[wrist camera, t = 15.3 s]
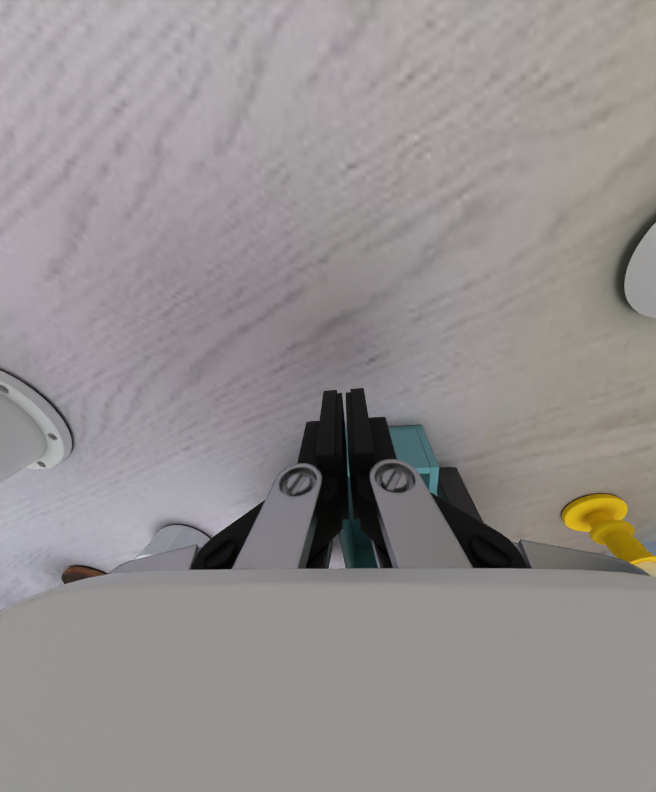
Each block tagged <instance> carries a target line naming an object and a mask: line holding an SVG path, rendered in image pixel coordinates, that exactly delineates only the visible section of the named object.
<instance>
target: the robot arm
mask: <svg viewBox="0 0 656 792" xmlns="http://www.w3.org/2000/svg"><path fill="white" fill-rule="evenodd" d="M346 415H347V443H346V432H345V421H344V411H343V400H342V393H337V390H331V391H324V393H323V400H322V407H321V415H320V421H311V422H307V423H306V427H305V431H304V436H303V440H302V445H301V449H300V454H299V459H298V463H297V464H295V465H291V466H289V467H287V468H285V469H284V470H283V471H282V472H280V473H279V475H278V476H277V478H276V479H275V481H274V483H273V485H272V488H271V490H270V492H269V494H268V496H267V498H266V500H264V501H263V502H262V503H260V504H259V505H257V506H256V507H255V508H253V509H252V510H250V511H249V512H248V513H246V514H245V515H243V516H242V517H241V518H239V519H238V520H236V521H235V522H234V523H232V524H231V525H229V526H228V527H226V528H225V529H224V530H222V531H221V532H219V533H218V534H217V535H215V536H214V537H212V538H211V539H210V540H209V541H208V542H207V543H206V544H204V546H203V547H198V545H197V544H195V545H191V546H187V547H183V548H179V549H175V550H171V551H167V552H163V553H159V554H155V555H151V556H147V557H143V558H139V559H135V560H131V561H128V562H126V563H123V564H121V565H119V566H118V567H116V568H115V569H113V570H112V571H110V572H109V573H108V574H107V575H102V576H96V577H90V578H86V579H82V580H78V581H75V582H71V583H67V584H64V585H60V586H57V587H54V588H52V589H49V590H46V591H44V592H41V593H39V594H36V595H33V596H31V597H28V598H25V599H23V600H21V601H19V602H17V603H14V604H12V605H10V606H8V607H6V608H4V609H2V610H0V792H656V577H654V576H651V575H649V574H648V573H647V572H645V571H644V570H643V569H641V568H639V567H637V566H635V565H633V564H631V563H629V562H627V561H625V560H622V559H618V558H615V557H611V556H607V555H601V554H596V553H591V552H585V551H580V550H575V549H570V548H564V547H559V546H554V545H548V544H543V543H538V542H532V541H527V540H522V539H520V541H519V543H515V542H511V541H510V540H509V539H508V538H506V537H505V536H503V535H502V534H501V533H499V532H498V531H496V530H494V529H492V528H491V527H489V526H487V525H486V524H484V523H482V522H480V521H479V520H477V519H475V518H474V517H472V516H470V515H469V514H467V513H465V512H463V511H462V510H460V509H458V508H457V507H455V506H453V505H451V504H450V503H448V502H446V501H445V500H443V499H441V498H439V497H438V496H436V495H434V494H433V493H431V492H429V490H428V488H427V486H426V485H425V483H424V481H423V479H422V478H421V476H420V474H419V473H418V471H417V470H416V469H415V468H414V467H413V466H412V465H410V464H409V463H406V462H404V461H402V460H397V457H396V454H395V450H394V447H393V443H392V439H391V436H390V432H389V429H388V425H387V422H386V418H385V417H375V418H369V417H368V412H367V406H366V400H365V394H364V389H363V388H358V389H351V392H349V393H346ZM347 447H348V463H349V474H350V485H351V496H352V506H353V517H354V519H360V528H361V531H362V532H363V533H364V534H366V535H367V536H368V537H369V538H370V539H371V540H372V546H373V550H374V554H375V558H376V562H377V566H378V568H349V569H328V568H329V562H330V557H331V551H332V539H333V538H334V537H335V536H336V535H337V534H338V533H339V532H340V531H341V529H343V519H349V506H348V470H347ZM71 449H72V438H71V435H70V432H69V430H68V428H67V426H66V424H65V422H64V421H63V419H62V418H61V417H60V415H59V414H58V413H57V411H56V410H55V409H54V408H53V407H52V406H51V405H50V404H49V403H48V402H47V401H46V400H45V399H44V398H43V397H41V396H40V395H39V394H38V393H37V392H36V391H34V390H33V389H31V388H30V387H29V386H27V385H26V384H24V383H23V382H21V381H20V380H18V379H16V378H14V377H12V376H11V375H9V374H7V373H5V372H2V371H0V483H1V482H3V481H4V480H6V479H7V478H9V477H11V476H12V475H14V474H15V473H17V472H18V471H20V470H22V469H23V468H25V469H32V470H43V469H49V468H52V467H55V466H57V465H58V464H60V463H61V462H62V461H64V460H65V459H67V457H68V456H69V455H70V453H71Z"/></svg>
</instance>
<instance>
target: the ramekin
mask: <svg viewBox="0 0 656 792" xmlns="http://www.w3.org/2000/svg"><path fill="white" fill-rule="evenodd" d="M209 540H210V539H209V538H208V537H207V536H206V535H205V534H203V533H202V532H200V531H198V530H196V529H193V528H191V527H187V526H182V525H171V526H167V527H164V528H162V529H161V530H160V531H159V532H158V533H157V534H156V535H155V537H154V538H153V539H152V540H151V541H150V543H149V544H148V545H147V546H146V547H145V549H144V550H143V551H142V552H141V553H140V554H139V555H137V556H136V557H135V559H139V558H143V557H147V556H151V555H155V554H159V553H163V552H167V551H171V550H175V549H179V548H183V547H187V546H191V545H195V544H197V545H198V547H203V546H204V544H206V543H207V542H208V541H209ZM135 559H134V560H135Z"/></svg>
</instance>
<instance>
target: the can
mask: <svg viewBox="0 0 656 792" xmlns="http://www.w3.org/2000/svg"><path fill="white" fill-rule="evenodd" d="M624 288H625V295H626V298H627V301H628V302H629V304H630V305H631V307H632V308H633V309H634V310H635V311H637V312H638V313H640V314H642V315H644V316H648V317H652V318H656V222H655V224H654V225H653V226H652V227H651V228H650V229H649V231H648V232H647V233H646V235H645V236H644V237H643V238H642V240H641V242H640V243H639V245H638V246H637V248H636V250H635V251H634V253H633V255H632V257H631V260H630V262H629V265H628V267H627V271H626V275H625V283H624Z"/></svg>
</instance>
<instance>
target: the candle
mask: <svg viewBox="0 0 656 792" xmlns="http://www.w3.org/2000/svg"><path fill="white" fill-rule="evenodd" d="M627 511H628V509H627V505H626V504H625V502H624V501H622V500H621V499H620V498H618V497H616V496H613V495H609V494H594V495H589V496H585V497H582V498H579V499H577V500H575V501H573V502H571V503H570V504H569V505H567V506H566V507H565V509H564V510H563V512H562V516H561V517H562V521H563V522H564V523H565V524H566V525H567V526H568V527H569V528H571V529H573V530H577V531H586V532H588V531H590V533H589V534H590V537H591V538H592V539H593V541H594V542H596V543H598V544H602V545H607V547H608V548H609V550H610V551H611V553H612V554H613V555H614V556H616V557H617V558H618V559H622V560H625V561H627V562H629V563H631V564H633V565H635V566H637V567H639V568H641V569H643V570H644V571H645V572H647V573H648V574H649V575H651V576H654V577H656V556H653V555H652V554H651V553H650V552H648V551H646V549H645V547H644V546H643V544H642V543H640V542H639V541H638V540H637V539H635V538H634V537H633V535H634V533H635V529H634V528H633V526H632V525H631V524H630V523H628V522H626V521H622V519H623V518H624V517H625V515H626V513H627Z"/></svg>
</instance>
